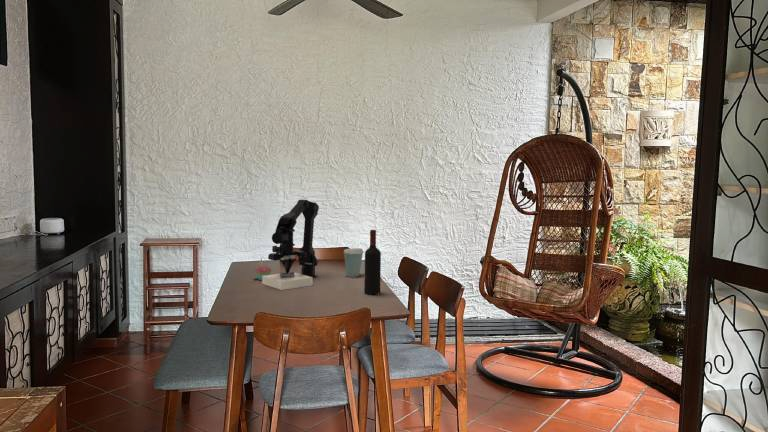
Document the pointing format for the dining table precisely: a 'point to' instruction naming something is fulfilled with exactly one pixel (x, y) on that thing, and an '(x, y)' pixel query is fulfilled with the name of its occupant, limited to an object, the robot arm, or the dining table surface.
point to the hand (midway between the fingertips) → (287, 272)
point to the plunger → (287, 274)
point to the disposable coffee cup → (353, 261)
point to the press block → (287, 281)
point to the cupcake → (262, 271)
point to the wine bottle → (372, 267)
